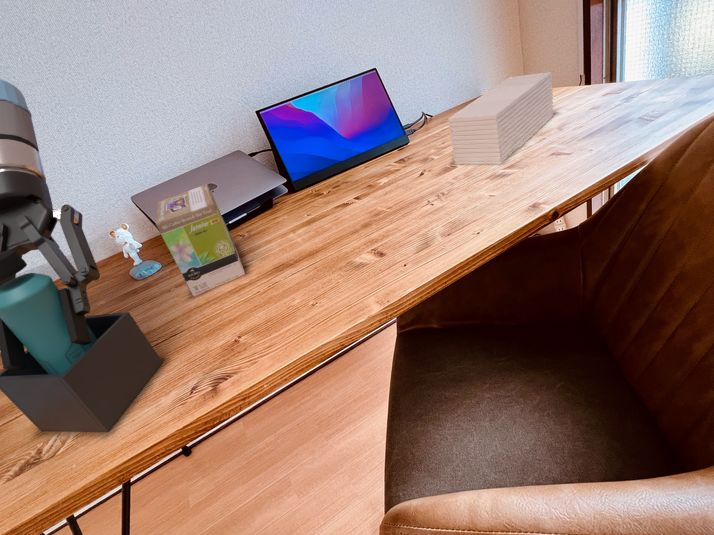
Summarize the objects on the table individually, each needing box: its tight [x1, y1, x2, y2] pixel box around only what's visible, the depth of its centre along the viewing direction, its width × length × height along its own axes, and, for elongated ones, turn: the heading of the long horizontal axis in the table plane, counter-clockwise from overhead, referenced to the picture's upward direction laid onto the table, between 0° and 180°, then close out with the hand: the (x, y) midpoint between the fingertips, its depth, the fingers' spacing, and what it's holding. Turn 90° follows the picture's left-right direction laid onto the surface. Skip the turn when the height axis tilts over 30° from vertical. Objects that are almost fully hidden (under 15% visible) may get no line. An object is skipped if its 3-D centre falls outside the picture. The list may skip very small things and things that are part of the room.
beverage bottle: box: [0, 250, 98, 374], centre depth 50 cm, size 6×7×20 cm
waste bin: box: [0, 311, 164, 433], centre depth 54 cm, size 11×11×10 cm
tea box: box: [155, 184, 246, 297], centre depth 78 cm, size 15×10×15 cm
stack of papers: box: [447, 71, 554, 165], centre depth 99 cm, size 32×11×11 cm, turn 141°
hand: (49, 354), depth 48 cm, fingers closed on beverage bottle, 6 cm apart
